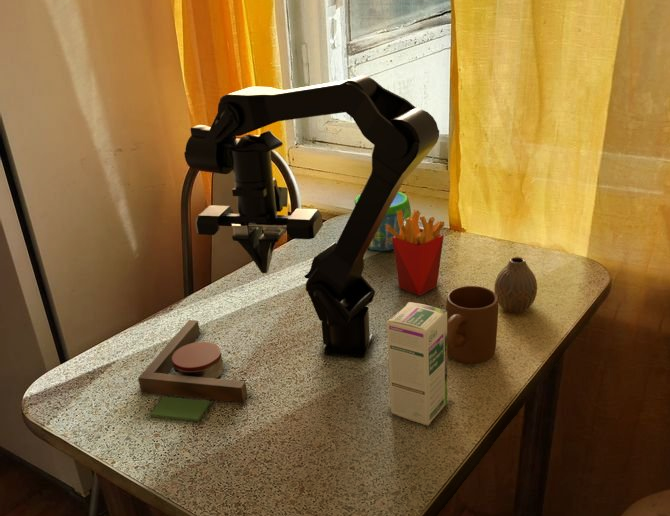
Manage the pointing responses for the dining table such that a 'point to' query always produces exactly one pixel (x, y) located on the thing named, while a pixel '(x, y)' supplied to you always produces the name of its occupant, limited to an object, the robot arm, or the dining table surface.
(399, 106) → the robot arm
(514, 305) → the vase
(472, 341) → the mug
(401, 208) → the snack cup
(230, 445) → the dining table surface
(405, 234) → the french fries
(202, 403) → the green rag
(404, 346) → the syrup box
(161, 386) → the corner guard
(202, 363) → the tin
